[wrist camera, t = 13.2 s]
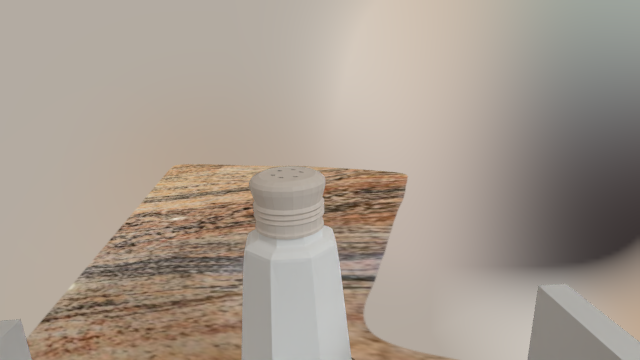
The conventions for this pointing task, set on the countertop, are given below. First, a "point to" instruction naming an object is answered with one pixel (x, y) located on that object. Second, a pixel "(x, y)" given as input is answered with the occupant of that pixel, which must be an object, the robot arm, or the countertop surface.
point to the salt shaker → (292, 272)
